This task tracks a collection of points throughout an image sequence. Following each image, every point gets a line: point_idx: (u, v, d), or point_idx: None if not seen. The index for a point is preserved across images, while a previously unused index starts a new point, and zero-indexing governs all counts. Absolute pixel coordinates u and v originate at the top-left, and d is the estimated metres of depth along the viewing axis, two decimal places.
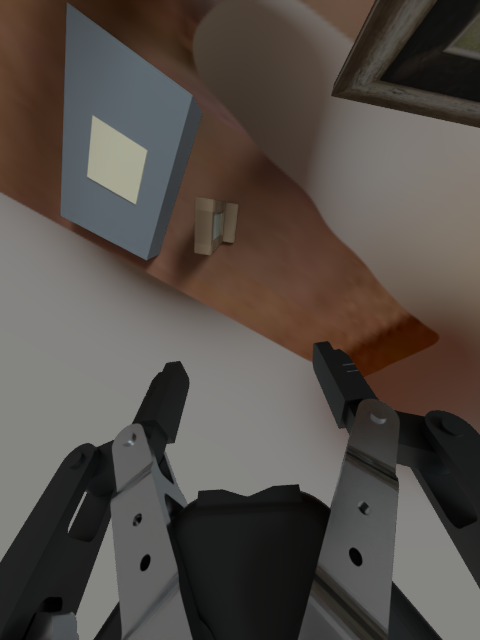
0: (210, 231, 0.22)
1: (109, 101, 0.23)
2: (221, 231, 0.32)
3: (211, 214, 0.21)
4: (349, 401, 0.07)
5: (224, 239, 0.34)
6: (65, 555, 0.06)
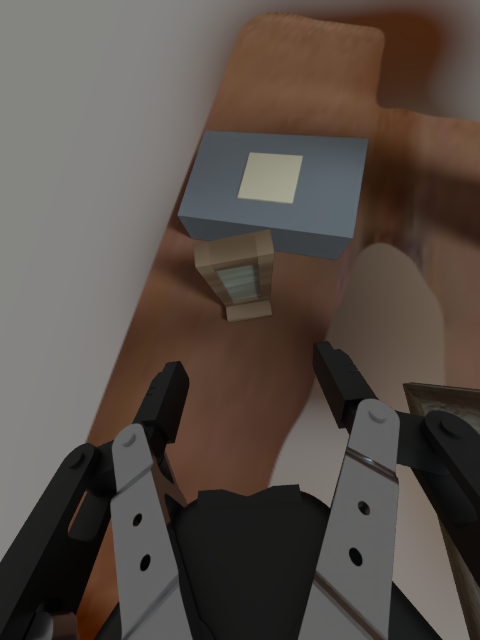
0: (230, 259, 0.14)
1: (318, 168, 0.24)
2: (236, 300, 0.24)
3: (254, 255, 0.14)
4: (349, 401, 0.07)
5: (228, 308, 0.26)
6: (65, 555, 0.06)
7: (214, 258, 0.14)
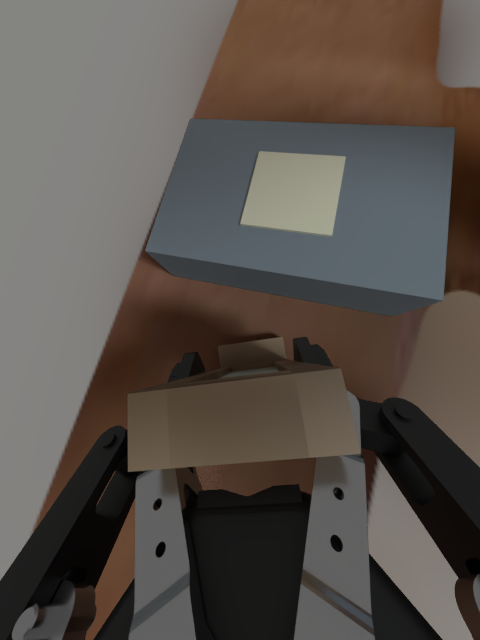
0: (227, 458, 0.05)
1: (372, 177, 0.14)
2: None
3: (297, 453, 0.05)
4: None
5: None
6: (91, 530, 0.06)
7: (181, 448, 0.05)
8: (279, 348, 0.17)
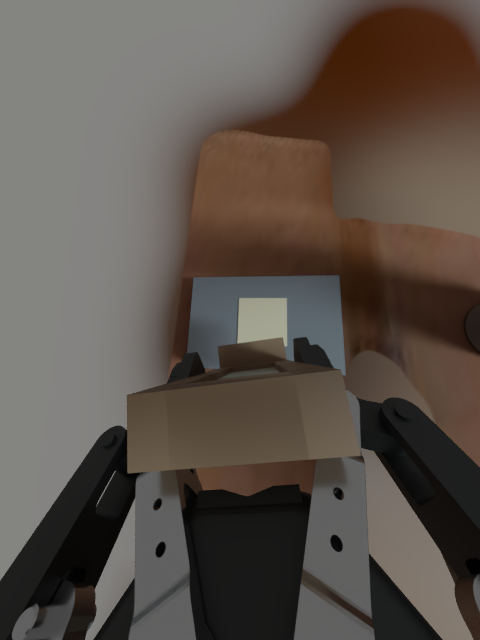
0: (227, 459, 0.05)
1: (302, 308, 0.27)
2: None
3: (297, 454, 0.05)
4: None
5: None
6: (92, 530, 0.06)
7: (181, 450, 0.05)
8: (279, 349, 0.17)
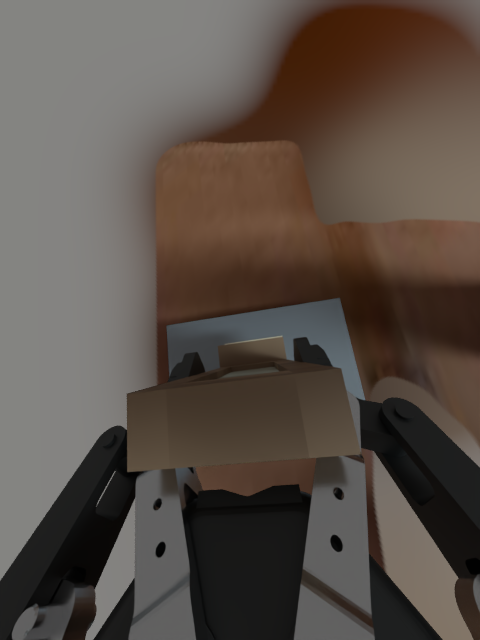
0: (227, 458, 0.05)
1: None
2: None
3: (297, 453, 0.05)
4: None
5: None
6: (92, 530, 0.06)
7: (181, 448, 0.05)
8: (279, 348, 0.17)
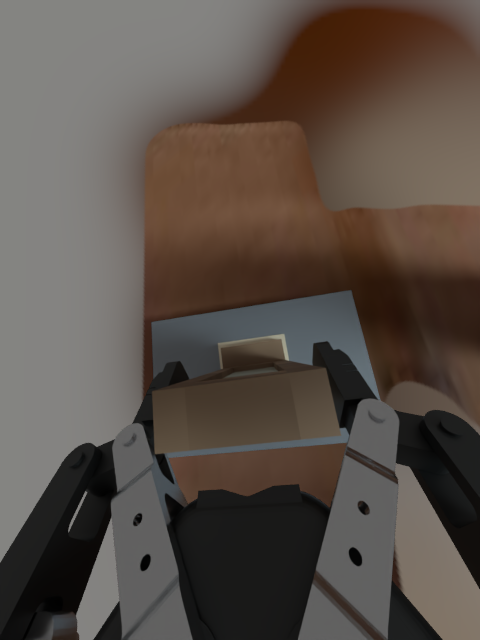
0: (235, 441, 0.06)
1: (309, 346, 0.19)
2: None
3: (291, 436, 0.06)
4: (349, 401, 0.07)
5: None
6: (65, 555, 0.06)
7: (198, 434, 0.06)
8: (278, 350, 0.18)
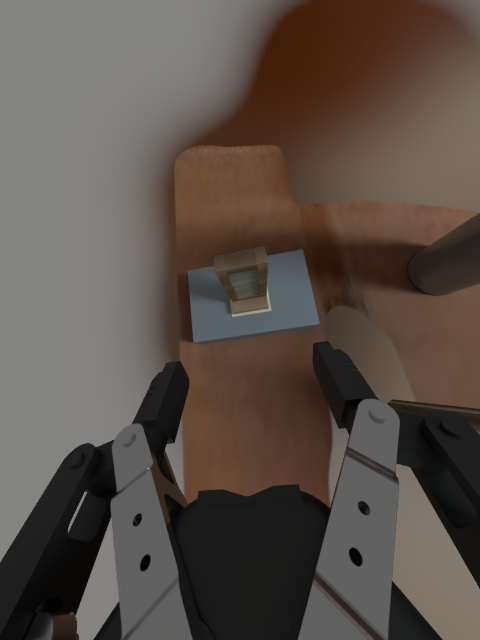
0: (238, 267, 0.21)
1: (278, 279, 0.34)
2: (240, 296, 0.31)
3: (254, 264, 0.21)
4: (349, 401, 0.07)
5: (234, 302, 0.32)
6: (65, 555, 0.06)
7: (227, 266, 0.21)
8: None
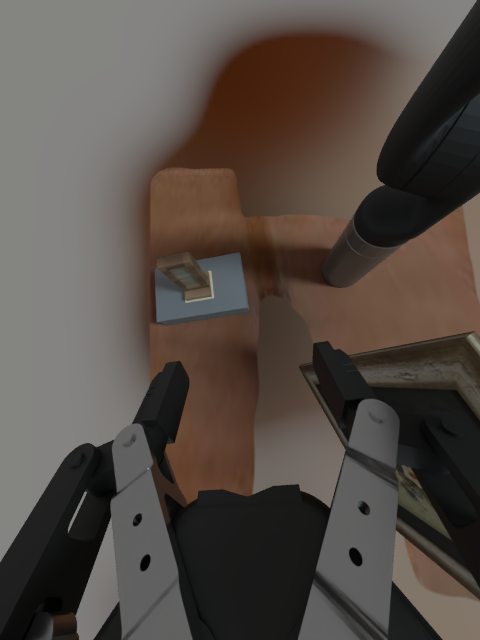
0: (171, 264, 0.32)
1: (220, 275, 0.45)
2: (189, 287, 0.43)
3: (181, 262, 0.32)
4: (349, 401, 0.07)
5: (186, 292, 0.44)
6: (65, 555, 0.06)
7: (164, 264, 0.32)
8: (206, 275, 0.44)
